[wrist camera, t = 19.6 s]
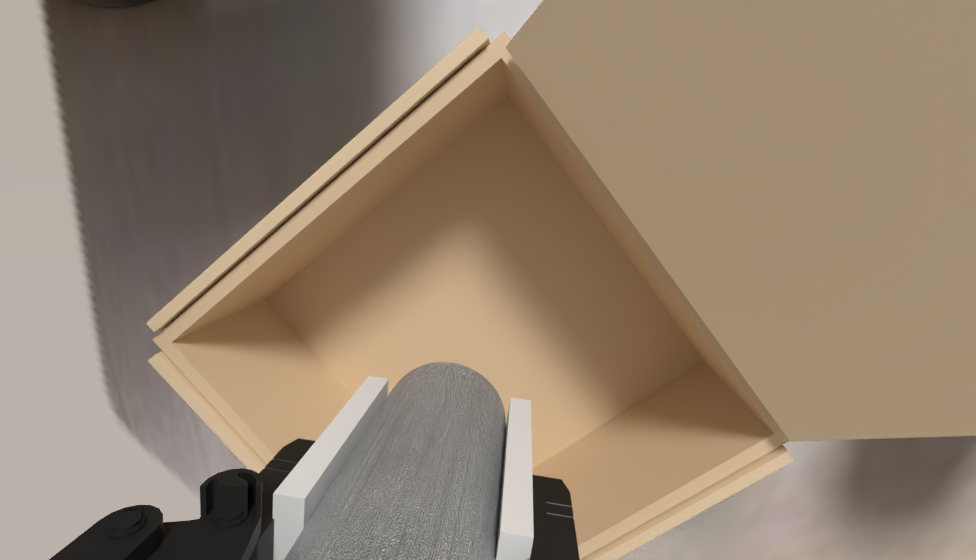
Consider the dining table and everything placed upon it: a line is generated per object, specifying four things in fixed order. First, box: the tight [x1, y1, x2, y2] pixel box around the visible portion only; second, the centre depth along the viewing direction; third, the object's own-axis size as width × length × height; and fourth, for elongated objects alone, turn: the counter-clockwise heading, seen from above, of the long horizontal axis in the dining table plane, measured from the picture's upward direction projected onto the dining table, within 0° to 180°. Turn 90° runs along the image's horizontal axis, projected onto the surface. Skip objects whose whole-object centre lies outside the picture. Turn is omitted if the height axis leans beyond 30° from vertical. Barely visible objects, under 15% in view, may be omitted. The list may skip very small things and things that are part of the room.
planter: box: [284, 362, 506, 560], centre depth 12 cm, size 4×4×10 cm
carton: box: [146, 26, 794, 560], centre depth 22 cm, size 20×20×8 cm
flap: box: [505, 0, 976, 441], centre depth 12 cm, size 18×1×12 cm
